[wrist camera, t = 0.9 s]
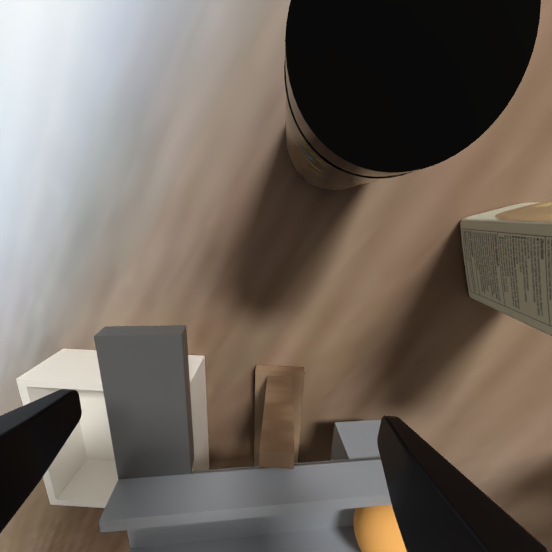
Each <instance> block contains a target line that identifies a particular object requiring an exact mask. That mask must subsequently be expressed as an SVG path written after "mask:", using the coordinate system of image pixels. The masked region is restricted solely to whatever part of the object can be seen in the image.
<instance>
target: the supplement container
mask: <svg viewBox="0 0 552 552" xmlns="http://www.w3.org/2000/svg"><path fill="white" fill-rule="evenodd" d="M540 5H541V0H291V2H290V6H289V12H288V18H287V25H286V38H285V65H284V72H285V90H286V146H287V151H288V154H289V157H290V160H291V162H292V164H293V166H294V167H295V169H296V170H297V172H298V173H299V174H300V175H301V176H302V177H303V178H304V179H305V180H306V181H308V182H309V183H311V184H312V185H314V186H317V187H319V188H322V189H327V190H342V189H347V188H351V187H354V186H358V185H362V184H365V183H369V182H372V181H376V180H380V179H384V178H392V177H397V176H401V175H404V174H407V173H410V172H413V171H416V170H420V169H423V168H426V167H429V166H433V165H435V164H438V163H440V162H442V161H445V160H446V159H448V158H450V157H452V156H454V155H456V154H457V153H459V152H460V151H462V150H463V149H465V148H466V147H468V146H469V145H470V144H471V143H473V142H474V141H475V140H476V139H478V138H479V137H480V136H481V135H482V134H483V133H484V132H485V131H486V130H487V129H488V128H489V127H490V126H491V125H492V124H493V123H494V121H495V120H496V119H497V118H498V117H499V115H500V114H501V113H502V111H503V110H504V109H505V107H506V106H507V105H508V103H509V101H510V100H511V98H512V97H513V95H514V94H515V92H516V90H517V88H518V86H519V84H520V82H521V80H522V78H523V76H524V74H525V71H526V69H527V67H528V64H529V61H530V58H531V55H532V52H533V49H534V45H535V41H536V37H537V31H538V25H539V19H540Z"/></svg>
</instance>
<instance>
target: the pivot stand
mask: <svg viewBox="0 0 552 552" xmlns="http://www.w3.org/2000/svg"><path fill="white" fill-rule="evenodd" d="M303 385H304V367H289V366H270V365H256V370H255V423H254V466H259V467H268V468H284V469H294V463H298V451H299V438H300V425H301V411H302V398H303Z"/></svg>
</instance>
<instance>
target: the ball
mask: <svg viewBox="0 0 552 552" xmlns="http://www.w3.org/2000/svg"><path fill="white" fill-rule="evenodd" d="M354 532H355V536H356V539H357V542H358V545H359V547H360V549H361V551H362V552H407V551H406V548H405V545H404V542H403V539H402V536H401V533H400V530H399V527H398V524H397V521H396V517H395V514H394V511H393V507H392V504H391V505H381V506H371V507H360V508H356V509H355V513H354Z"/></svg>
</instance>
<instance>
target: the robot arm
mask: <svg viewBox="0 0 552 552" xmlns="http://www.w3.org/2000/svg"><path fill="white" fill-rule="evenodd" d="M81 415H82V410H81V404H80V397H79V393H78V392H77V391H76V390H71V389H60V390H58V391H56V392H53V393H51V394H49V395H47V396H44V397H42V398H40V399H38V400H35V401H33V402H31V403H28V404H26V405H24V406H22V407H19V408H17V409H15V410H13V411H10V412H8V413H6V414H4V415H1V416H0V533H1V532H2V530H3V529H4V528H5V526H6V525H7V524H8V522H9V521H10V520H11V518H12V517H13V516H14V515H15V513H16V512H17V511H18V509H19V508H20V507H21V505H22V504H23V503H24V501H25V500H26V499H27V497H28V496H29V495H30V494H31V492H32V491H33V490H34V488H35V487H36V486H37V484H38V483H39V481H40V480H41V479H42V477H43V476H44V474H45V473H46V471H47V470H48V468H49V467H50V465H51V464H52V462H53V461H54V459H55V458H56V456H57V455H58V453H59V452H60V450H61V449H62V447H63V445H64V444H65V442H66V441H67V439H68V438H69V436H70V435H71V433H72V432H73V430H74V429H75V427H76V426H77V424H78V422H79V421H80V418H81ZM377 444H378V450H379V454H380V458H381V462H382V466H383V471H384V475H385V479H386V483H387V487H388V491H389V496H390V500H391V503H392V507H393V511H394V514H395V517H396V521H397V524H398V527H399V530H400V533H401V536H402V539H403V542H404V545H405V548H406V551H407V552H548V551H547V549H546V548H545V547H544V546H543V545H542V544H541V543H540V542H539V541H538V540H536V539H535V538H534V537H533V536H532V535H531V534H530V533H528V532H527V531H526V530H525V529H524V528H523V527H522V526H521V525H519V524H518V523H517V522H516V521H515V520H514V519H513V518H512V517H510V516H509V515H508V514H507V513H506V512H505V511H504V510H502V509H501V508H500V507H499V506H498V505H497V504H496V503H495V502H493V501H492V500H491V499H490V498H489V497H488V496H487V495H486V494H484V493H483V492H482V491H481V490H480V489H479V488H478V487H477V486H475V485H474V484H473V483H472V482H471V481H470V480H469V479H467V478H466V477H465V476H464V475H463V474H462V473H461V472H460V471H458V470H457V469H456V468H455V467H454V466H453V465H452V464H451V463H449V462H448V461H447V460H446V459H445V458H444V457H443V456H441V455H440V454H439V453H438V452H437V451H436V450H435V449H434V448H432V447H431V446H430V445H429V444H428V443H427V442H426V441H425V440H423V439H422V438H421V437H420V436H419V435H418V434H417V433H416V432H414V431H413V430H412V429H411V428H410V427H409V426H408V425H406V424H405V423H404V422H403V421H402V420H401V419H400V418H398V417H395V416H383V417H382V419H381V424H380V428H379V432H378V437H377Z"/></svg>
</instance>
